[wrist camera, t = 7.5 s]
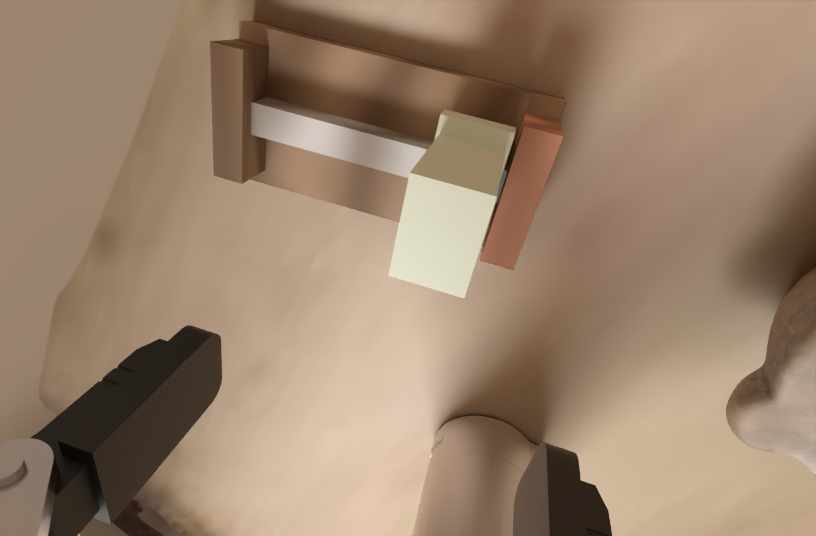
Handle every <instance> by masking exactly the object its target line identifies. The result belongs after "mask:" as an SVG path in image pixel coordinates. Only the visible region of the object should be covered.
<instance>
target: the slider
mask: <svg viewBox="0 0 816 536" xmlns="http://www.w3.org/2000/svg"><path fill="white" fill-rule="evenodd" d="M515 132H516V127H512V126H508V125H504V124H500V123H496V122H493V121H489V120H485V119H481V118H477V117H473V116H469V115H465V114H462V113H458V112H454V111H450V110H446V109H445V110H444V111H443V112H442V113H441V114H440V118H439V122H438V126H437V131H436V135H435V140H434V142H433V143H432V145H431V146H430V147H429V148H428V150H427V151H426V152H425V154H424V155H423V156H422V157H421V159H420V160H419V161H418V163H417V164H416V165H415V167H414V168H413V169H412V170H411V172H410V174H409V179H408V183H407V188H406V193H405V198H404V203H403V207H402V212H401V217H400V222H399V227H398V231H397V236H396V241H395V246H394V251H393V255H392V260H391V265H390V270H389V275H388V276H391V277H394V278H398V279H401V280H404V281H408V282H411V283H414V284H418V285H421V286H424V287H427V288H431V289H434V290H437V291H441V292H444V293H447V294H451V295H454V296H457V297H461V298H465V295H466V292H467V289H468V286H469V282H470V279H471V276H472V273H473V270H474V267H475V264H476V261H477V258H478V255H479V251H480V248H481V245H482V242H483V239H484V236H485V233H486V230H487V227H488V224H489V221H490V217H491V214H492V211H493V208H494V205H495V202H496V199H497V195H498V190H499V184H500V180H501V177H502V174H503V171H504V167H505V164H506V161H507V158H508V155H509V152H510V149H511V146H512V142H513V139H514V136H515Z"/></svg>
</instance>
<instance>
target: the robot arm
mask: <svg viewBox="0 0 816 536" xmlns="http://www.w3.org/2000/svg"><path fill="white" fill-rule="evenodd" d="M221 381H222V360H221V338H220V336H219V335H218V334H215V333H212V332H209V331H206V330H203V329H200V328H197V327H194V326H191V325H189V326H186V327H184V328H182V329H181V330H180V331H179V332H178V333H177V334H176V335H174V336H173V337H172V338H171V339H170V340H169V341H165V340H162V339H158V340H156V341H154V342H152V343H150V344H148V345H145V346H143V347H141V348H139V349H137V350H135V351H134V352H133V353H132V354H131V355H130V356H128V357H127V358H126V359H125V360H124V361H122V362H121V363H120V364H119V365H118V367H117V368H116V369H115V368H114V369H113V370H112V371H111V372H109V373H108V374H107V375H106V376H105V377H103V380H102V381H101V382H98V383H96V384H95V385H94V386H93V387H92V388H90V389H89V390H88V391H87V392H86V393H85V394H83V395H82V396H81V397H80V398H79V399H77V400H76V401H75V402H74V403H73V404H72V405H70V406H69V407H68V408H67V409H66V410H64V411H63V412H62V413H61V414H60V415H59V416H57V417H56V418H55V419H54V420H53V421H51V422H50V423H49V424H48V425H47V426H46V427H44V428H43V429H42V430H41V431H40V432H38V433H37V434H36V435H34V436H32V437H31V438H21V439H13V440H9V441H5V442H2V443H0V536H80V532H81V531H82V530H83V529H84V527H85V526H86V525H87V524H88V523H89V522H90V521H91V519H92V518H96V519H98V520H101V521H103V522H106V523H108V524H112V523H113V522H114V521H115V520H116V518H117V517H118V516H119V515H120V513H121V512H122V511H123V510H124V509H125V507H126V506H127V505H128V504H129V503H130V501H131V500H132V499H133V498H134V496H135V495H136V494H137V493H138V492H139V490H140V489H141V488H142V487H143V486H144V484H145V483H146V482H147V481H148V480H149V478H150V477H151V476H152V475H153V473H154V472H155V471H156V470H157V469H158V467H159V466H160V465H161V464H162V463H163V461H164V460H165V459H166V458H167V456H168V455H169V454H170V453H171V452H172V450H173V449H174V448H175V447H176V446H177V444H178V443H179V442H180V441H181V440H182V438H183V437H184V436H185V435H186V433H187V432H188V431H189V430H190V429H191V427H192V426H193V425H194V424H195V423H196V421H197V420H198V419H199V418H200V416H201V415H202V414H203V413H204V412H205V410H206V409H207V408H208V407H209V406H210V404H211V403H212V402H213V400H214V399H215V397H216V395H217V393H218V391H219V389H220V385H221ZM429 460H430V461H429V465H428V470H427V474H426V478H425V482H424V487H423V491H422V496H421V500H420V504H419V509H418V513H417V518H416V522H415V526H414V531H413V535H412V536H612V532H611V526H610V519H609V513H608V509H607V507H606V506H605V504H604V502H603V500H602V498H601V496H600V494H599V492H598V490H597V488H596V486H595V485H592V484H589V483H586V482H583V481H581V480H580V470H579V461H578V457H577V455H576V453H574V452H571V451H568V450H565V449H562V448H559V447H556V446H553V445H550V444H547V443H544V442H542V443H541V444H540V445H539V446H538V445H535V444H533V443H531V442H530V441H528V440H527V438H526V437H525V436H524V435H523V434H522V433H521V432H520V431H518V430H517V429H516V428H514V427H513V426H511V425H509V424H507V423H505V422H503V421H500V420H497V419H494V418H490V417H485V416H464V417H459V418H456V419H453V420H451V421H449V422H447V423H446V424H444V425H443V426H442V427H441V428H440V429H439V430H438V432H437V434H436V436H435V439H434V443H433V448H432V450H431V454H430V459H429Z"/></svg>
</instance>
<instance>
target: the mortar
mask: <svg viewBox="0 0 816 536" xmlns="http://www.w3.org/2000/svg"><path fill="white" fill-rule="evenodd" d="M726 416H727V420H728V423H729V426H730V428H731V430H732V431H733V433H734V434H735V435H736V436H737V437H738V438H739V439H740V440H741V441H742V442H743V443H745V444H746V445H748V446H750V447H752V448H755V449H758V450H762V451H768V452H778V453H783V454H788V455H791V456H793V457H794V458H795V459H796V460H798V461H799V462H800V463H801V464H802V465H803V466H804V467H805V468H807V469H808V470H809V471H811V472H812V473H813V474H814V475H815V476H816V266H815V267H814V268H813V269H812V270H810V271H809V272H808V273H807V274H805V275H804V276H803V277H802V278H801V279H800V280H799V281H798V282H797V283H796V284H795V285H794V286H793V287H792V288H791V289H790V291H789V292H788V293H787V294H786V296H785V298H784V299H783V301H782V302H781V304H780V306H779V308H778V310H777V312H776V314H775V317H774V319H773V322H772V326H771V329H770V334H769V340H768V345H767V353H766V359H765V362H764V364H763V366H762V367H760V368H759V369H757V370H756V371H754V372H753V373H751V374H749V375H748V376H746V377H745V378H744V379H743V380H742V381H741V382H740V383H739V384H738V385H737V387H736V388H735V389H734V391H733V393H732V394H731V396H730V398H729V401H728V404H727V407H726Z"/></svg>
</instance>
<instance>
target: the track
mask: <svg viewBox="0 0 816 536" xmlns="http://www.w3.org/2000/svg"><path fill="white" fill-rule="evenodd" d="M210 54H211V89H212V125H213V160H214V176H217V177H221V178H224V179H228V180H231V181H235V182H238V183H241V184H242V183H244V182H246V181H248V180H249V179H251V180H254V181H258V182H261V183H265V184H268V185H272V186H275V187H279V188H282V189H285V190H289V191H292V192H296V193H299V194H303V195H306V196H310V197H313V198H317V199H320V200H324V201H327V202H331V203H334V204H338V205H341V206H345V207H348V208H351V209H355V210H358V211H362V212H365V213H369V214H372V215H376V216H379V217H383V218H386V219H390V220H393V221H397V222H400V217H401V212H402V207H403V203H404V198H405V193H406V188H407V183H408V179H409V174H410V172H411V170H412V169H413V168H414V167H415V165H416V164H417V163H418V161H419V160H420V159H421V157H422V156H423V155H424V154H425V152H426V151H427V150H428V148H429V147H430V146H431V145H432V143H433V142H434V140H435V135H436V131H437V126H438V122H439V118H440V114H441V113H442V112H443V111H444V110H445V109H446V110H450V111H454V112H458V113H462V114H465V115H469V116H473V117H477V118H481V119H485V120H489V121H493V122H496V123H500V124H504V125H508V126H512V127H516V132H515V136H514V139H513V142H512V146H511V149H510V152H509V155H508V158H507V161H506V164H505V167H504V171H503V174H502V177H501V180H500V184H499V190H498V195H497V199H496V202H495V205H494V208H493V211H492V214H491V217H490V221H489V224H488V227H487V230H486V233H485V236H484V239H483V242H482V245H481V246H483V249H482V254H481V259H480V261H483V262H487V263H490V264H494V265H497V266H501V267H504V268H507V269H511V270H513V269H514V266H515V264H516V261H517V259H518V256H519V253H520V251H521V248H522V245H523V243H524V240H525V237H526V235H527V232H528V229H529V227H530V224H531V221H532V219H533V216H534V214H535V211H536V208H537V206H538V203H539V200H540V198H541V195H542V192H543V190H544V187H545V184H546V182H547V179H548V176H549V174H550V171H551V168H552V166H553V163H554V161H555V158H556V155H557V153H558V150H559V147H560V145H561V142H562V139H563V137H564V136H563V132H562V129H561V125H560V122H559V120H560V117H561V115H562V112H563V109H564V106H565V104H566V102H565V100H564V99H563V98H559V97H555V96H551V95H547V94H543V93H539V92H535V91H531V90H527V89H523V88H519V87H515V86H511V85H507V84H503V83H499V82H495V81H491V80H487V79H483V78H479V77H475V76H471V75H467V74H463V73H459V72H455V71H451V70H447V69H443V68H439V67H435V66H431V65H427V64H423V63H419V62H415V61H411V60H407V59H403V58H399V57H395V56H391V55H387V54H383V53H379V52H375V51H371V50H367V49H363V48H359V47H355V46H351V45H347V44H343V43H339V42H335V41H331V40H327V39H323V38H319V37H315V36H311V35H307V34H303V33H299V32H295V31H291V30H287V29H283V28H279V27H275V26H271V25H267V24H263V23H259V22H255V21H239V39H236V40H223V41H210Z"/></svg>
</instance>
